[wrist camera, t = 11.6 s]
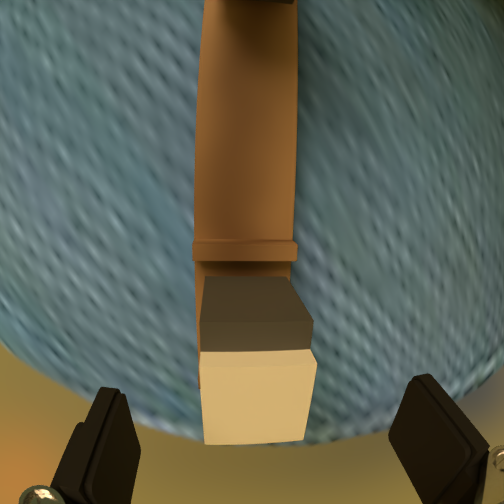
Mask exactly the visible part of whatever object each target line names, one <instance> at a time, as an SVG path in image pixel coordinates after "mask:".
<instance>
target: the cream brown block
mask: <svg viewBox="0 0 504 504" xmlns="http://www.w3.org/2000/svg"><path fill="white" fill-rule="evenodd" d="M313 322H314V320H313V319H312V317H311V315H310V314H309V312H308V311H307V309H306V307H305V306H304V304H303V303H302V301H301V299H300V298H299V296H298V294H297V293H296V291H295V290H294V288H293V286H292V285H291V283H290V282H289V280H288V278H287V277H286V276H282V277H256V276H205V280H204V288H203V296H202V304H201V313H200V321H199V326H200V364H199V372H200V388H201V403H202V417H203V429H204V441H205V445H235V444H260V443H275V442H287V441H298V440H303V438H304V433H305V428H306V423H307V418H308V413H309V408H310V403H311V397H312V392H313V386H314V380H315V374H316V368H317V362H316V360H315V358H314V356H313V354H312V352H311V350H310V345H311V338H312V330H313Z"/></svg>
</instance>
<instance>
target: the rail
mask: <svg viewBox="0 0 504 504" xmlns="http://www.w3.org/2000/svg"><path fill="white" fill-rule="evenodd" d="M297 96H298V18H297V0H205V4H204V14H203V25H202V36H201V49H200V62H199V77H198V95H197V115H196V141H195V184H194V241H193V244H192V251H193V261H195V295H196V322H197V343H198V361H199V364H200V326H199V321H200V313H201V304H202V296H203V288H204V280H205V276H256V277H282V276H286V277H287V278H288V280H289V282H290V270H291V261H297V249H298V245H297V244H296V243H295V242H294V241H293V240H292V237H293V218H294V197H295V173H296V143H297ZM198 386H199V389H201V388H200V372H199V371H198Z"/></svg>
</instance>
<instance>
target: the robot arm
mask: <svg viewBox="0 0 504 504" xmlns="http://www.w3.org/2000/svg"><path fill="white" fill-rule="evenodd" d="M388 436H389V441H390V443H391V445H392V447H393V449H394V450H395V452H396V454H397V456H398V458H399V460H400V462H401V463H402V465H403V467H404V469H405V471H406V473H407V475H408V476H409V478H410V480H411V482H412V484H413V486H414V487H415V489H416V492H417V494H418V495H419V497H420V499H421V501H422V503H423V504H504V446H497V447H495V448H493V449H492V450H491V452H489V451H488V448H489V447H490V445H489V444H488V443H487V441H486V440H485V439H484V438H483V437H482V435H481V434H480V433H479V431H478V430H477V429H476V428H475V427H474V425H473V424H472V423H471V422H470V420H469V419H468V418H467V417H466V415H465V414H464V413H463V412H462V411H461V409H460V408H459V407H458V406H457V405H456V403H455V402H454V401H453V400H452V399H451V397H450V396H449V395H448V394H447V393H446V392H445V390H444V389H443V388H442V387H441V386H440V385H439V383H438V382H437V381H436V380H435V379H434V378H433V376H432V375H430V374H428V373H427V374H423V375H418V376H414V377H413V378H412V380H411V381H410V382H409V383H408V385H407V388H406V391H405V393H404V396H403V399H402V401H401V404H400V407H399V409H398V412H397V414H396V416H395V419H394V421H393V424H392V426H391V428H390V431H389V434H388ZM140 454H141V449H140V444H139V441H138V438H137V435H136V431H135V428H134V424H133V421H132V417H131V414H130V410H129V406H128V402H127V399H126V395H125V394H121V393H120V390H119V389H116V388H108V387H101V388H100V389H99V391H98V393H97V395H96V398H95V400H94V402H93V404H92V406H91V409H90V411H89V413H88V416H87V418H86V420H85V422H84V423H83V422H79V423H78V424H77V425H76V427H75V429H74V431H73V433H72V436H71V438H70V440H69V442H68V445H67V447H66V449H65V451H64V454H63V456H62V458H61V461H60V463H59V466H58V468H57V470H56V473H55V476H54V478H53V480H52V483H51V485H50V487H48V486H43V485H37V486H32V487H30V488H28V489H26V490H25V491H24V492H23V493H22V494H21V496H20V498H19V504H131V499H132V493H133V488H134V483H135V478H136V474H137V469H138V464H139V459H140Z"/></svg>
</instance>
